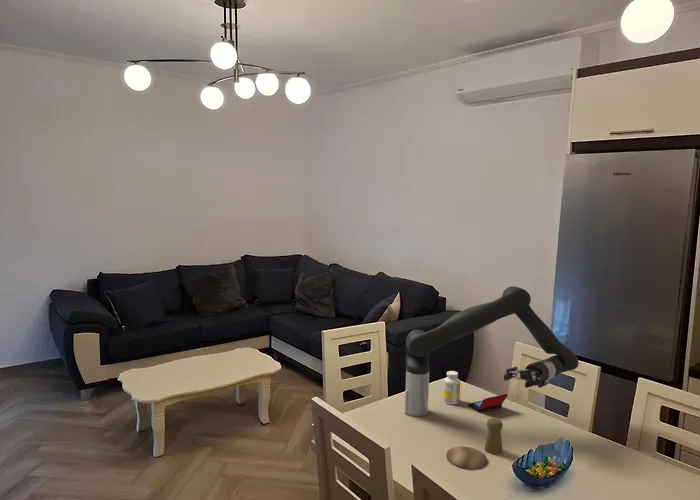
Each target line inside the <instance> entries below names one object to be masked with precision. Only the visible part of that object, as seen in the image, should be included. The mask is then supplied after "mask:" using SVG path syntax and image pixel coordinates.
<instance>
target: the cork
mask: <svg viewBox="0 0 700 500" xmlns="http://www.w3.org/2000/svg"><path fill="white" fill-rule="evenodd" d="M503 426H504V425H503V421H502V419H499V418H496V417H490V418H488V419H487V422H486V427H487V434H486V439H485V440H486V441H485V445H484V451H485V452H486V453H488V454H490V455H494V456H497V455H501V454H503V449H504V448H503V440H502V429H503Z"/></svg>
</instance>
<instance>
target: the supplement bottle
mask: <svg viewBox="0 0 700 500" xmlns="http://www.w3.org/2000/svg"><path fill="white" fill-rule="evenodd" d="M446 376H447V377H445V378H444V381H443V402H444V403H446V404H447V405H458V404H460V402H461V401H460V400H461V380H460V379H459V378H458V376H459V373H458V372H457V371H454V370H449V371H447V372H446Z"/></svg>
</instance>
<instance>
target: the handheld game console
mask: <svg viewBox="0 0 700 500" xmlns="http://www.w3.org/2000/svg"><path fill="white" fill-rule="evenodd" d="M507 397H508V394H507V393H505V394H501V395H495V396H491V397H486V398H484V399H482V400H479V401H474V402H469V403H468V404H467V407H468V406H469V408H470V409H472V410H474V411H475V412H477V413H482V412H487V411H490V410H496V409H501V408H503V403H504V402H505V401H506V399H507ZM489 409H490V410H489Z"/></svg>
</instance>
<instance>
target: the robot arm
mask: <svg viewBox="0 0 700 500" xmlns="http://www.w3.org/2000/svg"><path fill="white" fill-rule="evenodd" d="M501 295H502V296H500V297H499V298H497V299H495V300H493V301H490V302H486V303H481V304H478V305H477V304H476V305H474V306H469V307H468V308H466V309H465V308H464V309H463V310H461V311H459V312H456V313H455V314H453V315H452V316H450V317H449V318H448V319H446V320H445V321H444V322H443V323H442V324H441V325H439V326H437V327H435V328H433V329H431V330H428V331H426V332H425V331H424V330H422V329H413V330H412V331H410V332H409V333H408V334H407V336H406V338H405V339H406V340H405V401H404V402H405V403H404V405H405V406H404V414H405V415H409V416H413V417H423V416H427V415H428V413H429V395H430V394H429V389H430V388H429V387H430V360H429V355H430V354H431V353H432V352H434V351H436V350H437V349H439V348H441V347H443V346H445V345H446V344H448V343H451V342H454V341H456V340H458V339H461V338H462V337H465V336H467V335H470V334H472V333H474V332H477V331H479V330H480V329H482V328H485V327H487V326H489V325H491V324H492V323H495V322H497V321H498V320H500V319H503V318H505V317H507V316H511V315H516V317H518V319H519V320H520V321H521V322H522V323H523V325H524V326H525V327H526V329H527V330H528V331H529V333H530V335H531V336H532V337H533V338H534V340H535V341H536V342H537V345H539V347H540V348H541V349H542V350H543V352H544V353H546V354H547V355H553V356H550V357H548V358H545V359H540V360H537V361H535V362H531V363H529V364H527V365H526V366H525V368H523V369H518V366H514V367H510V368H507V369H506V370H505V371H506V372H505V373H504V374H503V381H505V382H507V381H509V380H512V379H516V380H517V381H525V382H524V388H526V389H528V388H531V387H538V389H539V388H543V387H545V386H547V385H548V384H549V380H551V379H552V378H554V377H556V376H559V375H560V374H561V373H566V372H569V371H572V370H576V369H577V368H579V364H580V363H579V359H578V356H577V355H576V353H574V351H572V350H571V349H570V348H568V347H567V346H566V345H565V344H564V343H562V342H561V341H560V340H559V339H558V338H557V336H556V335H555V333H554V332H553V331H552V330H551V329H550V328H549V327H548V325H547V324H546V323H545V322H544V321H543V320H542V319H541V318H540V317H539V316H538V315H537V313H536V312H535V310H533V309H532V307H531V305H530V304H531V299H532V297H531V294H530V293H529V292H528V291H527V290H526V289H524V288H521V287H518V286H508V287H506V288H505V289H504V291H503V292H502V294H501Z"/></svg>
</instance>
